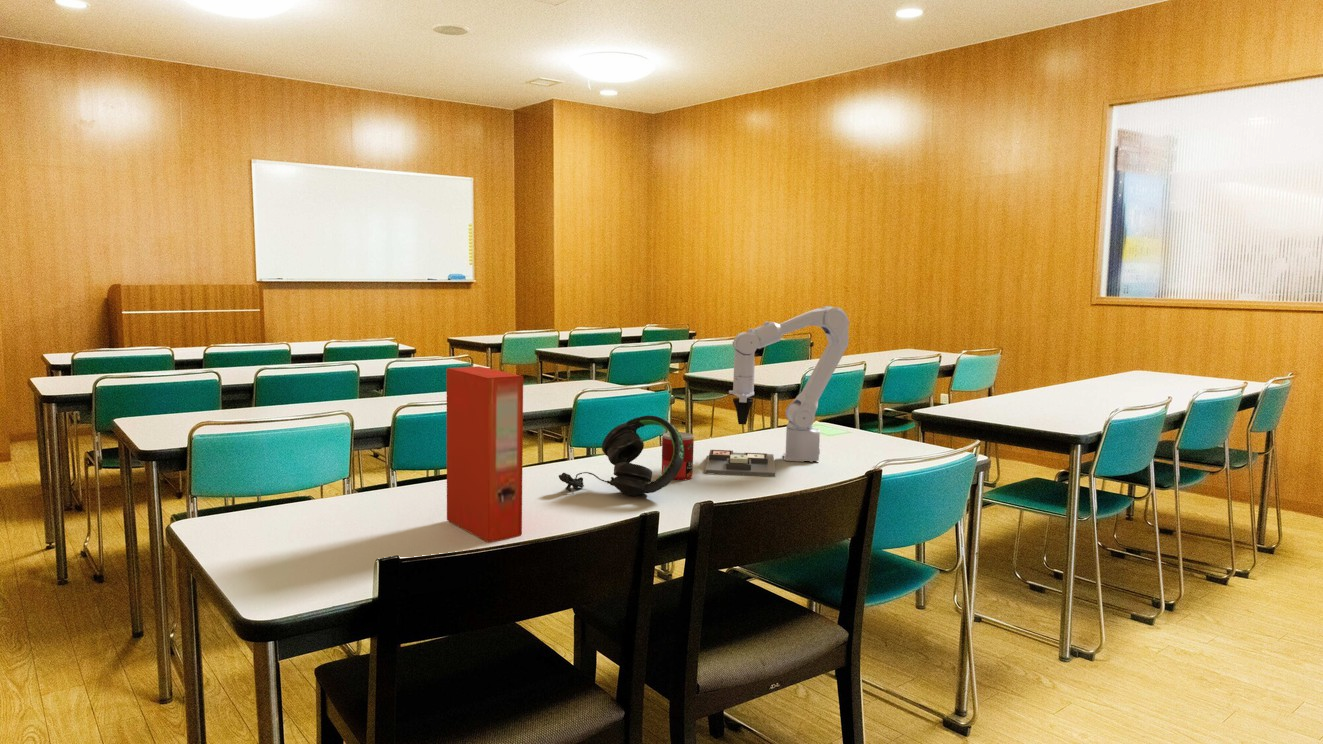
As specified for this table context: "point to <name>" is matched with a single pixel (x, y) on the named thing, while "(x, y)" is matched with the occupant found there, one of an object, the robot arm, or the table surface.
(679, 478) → the canned food
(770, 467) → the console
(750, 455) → the key one
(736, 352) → the robot arm
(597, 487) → the table surface
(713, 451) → the key three
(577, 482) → the headset
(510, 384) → the file binder
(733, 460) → the key two
